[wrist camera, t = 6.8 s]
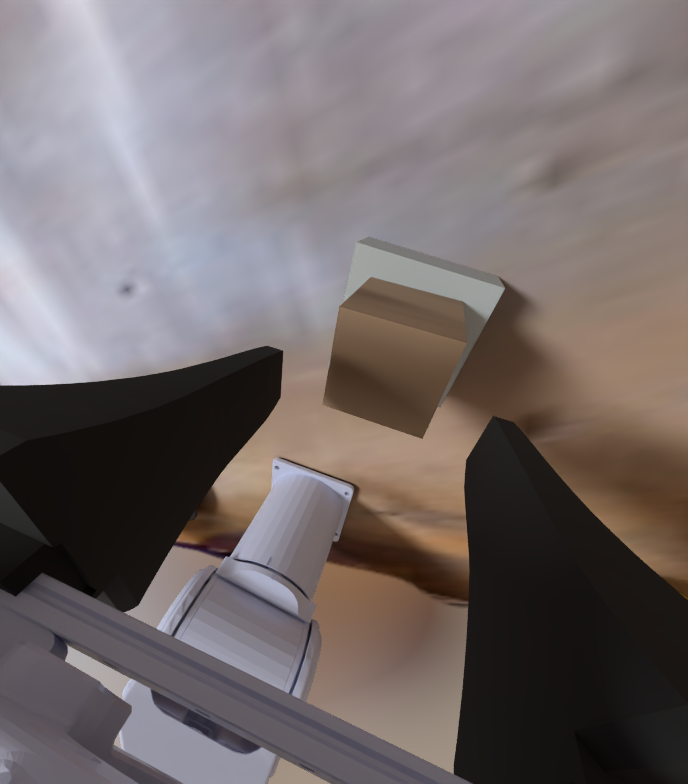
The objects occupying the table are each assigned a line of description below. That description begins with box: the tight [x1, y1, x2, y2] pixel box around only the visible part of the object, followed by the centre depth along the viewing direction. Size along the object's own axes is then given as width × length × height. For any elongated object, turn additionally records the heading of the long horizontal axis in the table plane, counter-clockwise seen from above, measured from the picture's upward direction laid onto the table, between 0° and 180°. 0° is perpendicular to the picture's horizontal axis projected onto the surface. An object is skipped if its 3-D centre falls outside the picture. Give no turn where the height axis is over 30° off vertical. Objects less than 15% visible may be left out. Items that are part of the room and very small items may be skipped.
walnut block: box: [323, 277, 467, 439], centre depth 13 cm, size 4×4×5 cm
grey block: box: [328, 237, 505, 407], centre depth 17 cm, size 7×7×3 cm
